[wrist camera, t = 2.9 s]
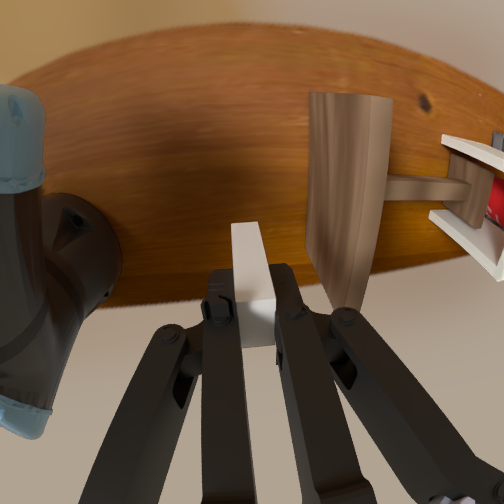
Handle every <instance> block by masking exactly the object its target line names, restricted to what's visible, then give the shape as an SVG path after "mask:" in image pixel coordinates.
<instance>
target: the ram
mask: <svg viewBox="0 0 504 504" xmlns="http://www.w3.org/2000/svg"><path fill="white" fill-rule="evenodd" d="M392 106H393V99H391V98H385V97H379V96H372V95H362V94H347V93H322V92H309V174H308V203H307V224H306V241H305V249H306V251H307V253H308V255H309V257H310V260H311V262H312V264H313V266H314V268H315V270H316V272H317V274H318V276H319V279H320V281H321V283H322V285H323V287H324V289H325V291H326V293H327V296H328V298H329V300H330V303H331V305H332V307H333V309H334V310H335V309H337V308H340V307H351V308H353V309H356V310H357V311H358V312H360V309H361V306H362V302H363V298H364V294H365V290H366V287H367V282H368V278H369V274H370V270H371V266H372V261H373V257H374V252H375V247H376V242H377V237H378V232H379V226H380V221H381V215H382V209H383V202H384V200H443V202H442V204H443V205H445V206H446V207H447V208H449V209H450V210H452V211H453V212H454V213H456V214H457V215H458V216H460V217H461V218H462V219H464V220H465V221H466V222H468V223H469V224H470V225H471V226H473V227H474V228H475V229H481V227H482V224H483V221H484V217H485V214H486V210H487V206H488V202H489V198H490V194H491V189H492V185H493V180H494V175H495V173H494V172H493V171H491V170H489V169H487V168H485V167H483V166H481V165H479V164H477V163H475V162H473V161H471V160H468V159H466V158H464V157H462V156H460V155H458V154H453V153H451V157H450V164H449V171H448V177H447V178H444V177H431V176H415V175H394V174H387V172H388V163H389V153H390V142H391V127H392Z"/></svg>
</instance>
